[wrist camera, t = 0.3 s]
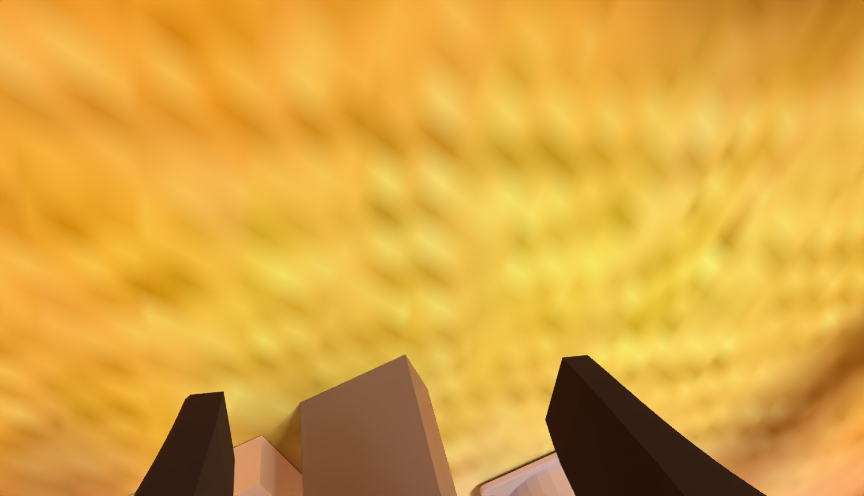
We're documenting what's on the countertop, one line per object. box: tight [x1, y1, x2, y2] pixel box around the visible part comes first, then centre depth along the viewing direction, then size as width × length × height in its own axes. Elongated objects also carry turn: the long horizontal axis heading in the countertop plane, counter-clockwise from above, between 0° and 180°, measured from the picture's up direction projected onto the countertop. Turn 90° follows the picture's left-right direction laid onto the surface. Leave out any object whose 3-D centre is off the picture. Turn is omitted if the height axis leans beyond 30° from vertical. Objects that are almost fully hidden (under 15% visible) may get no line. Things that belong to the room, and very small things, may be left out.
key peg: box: [300, 355, 457, 496], centre depth 23 cm, size 3×5×7 cm, turn 113°
